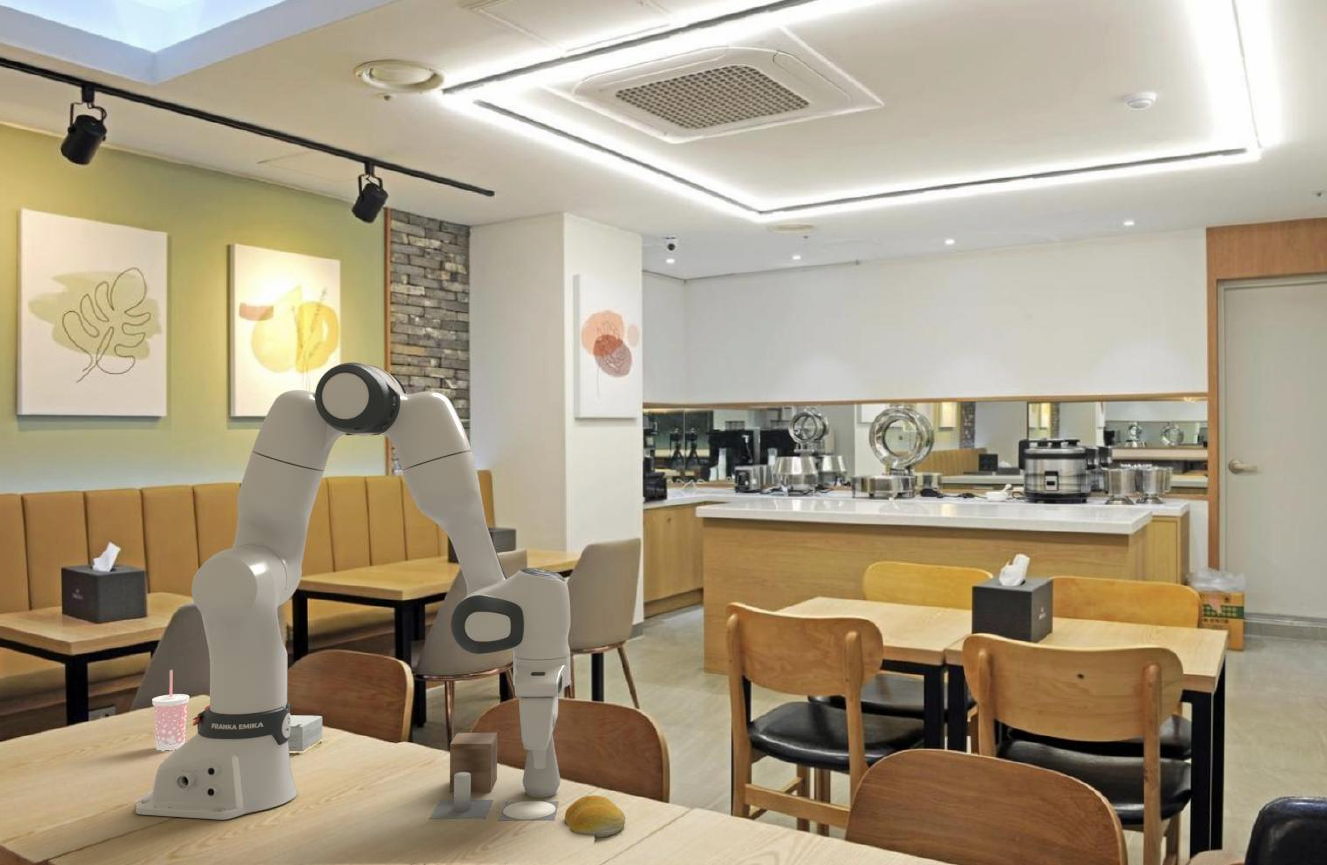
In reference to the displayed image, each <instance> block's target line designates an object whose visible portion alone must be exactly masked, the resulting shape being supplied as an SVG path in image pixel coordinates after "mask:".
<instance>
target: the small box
mask: <svg viewBox="0 0 1327 865" xmlns="http://www.w3.org/2000/svg"><path fill="white" fill-rule="evenodd" d="M290 715H291V714H290ZM320 739H322V740H323V716H321V715H300V714H299V715H295V714H294V715H293V714H292V715H291V728H290V736H289V739H288V747H289V751H304V750H305V749H306V748H308V747H309V746H312V745H313V744H315V743H316V742H318V741H319V740H320Z"/></svg>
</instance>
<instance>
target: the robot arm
mask: <svg viewBox="0 0 1327 865" xmlns="http://www.w3.org/2000/svg"><path fill="white" fill-rule="evenodd" d="M457 413H458V412H456V409H455V407H454V406H453V404H452V402H451V401H450V399H449V398H448V397H447V396H446V395H444V394H443V393H439V392H438V391H437V392H436V391H428V390H426V391H424V390H423V391H419V392H415V393H407V392H406V390H405V387H404V385H403V384H402V382H401V381H400V380H399V379H398V378H397V377H396V376H395V375H393V374H392V373H389V372H388V371H386V370H384V369H382V368H380V367H378V366H377V365H376V366H375V365H372V364H364V363H361V362H352V361H351V362H345V363H339V364H338V365H335V366H333V367H332V368H330V369H329V370H327V371H326V372H325V373H324V374H323V375H322V376H321V378H319V381H318V383H317V385H316V387H315V392H312V391H309V390H308V391H307V390H301V389H295V390H294V389H293V390H289V391H285V392H283V393H280V395H278V396H277V397H275V400H274V401H273V403H272V405H271V407H270V408H269V410H268V411H267V414H266V416H265V418H264V420H263V422H262V424H261V427H260V428H259V430H258V434H257V436H256V439H255V441H254V444H253V448H252V450H251V452H250V456H249V459H248V462H247V465H246V469H245V471H244V474H243V478H242V480H241V484H240V487H239V490H238V493H237V497H236V505H237V524H236V533H235V538H234V541H233V543H232V547H231V548H230V547H229V548H226V549H224V550H220V551H218V552H216V553H214V554H213V555H212V556H210V558H208V559H207V560H206V561H205V562H204V563H203V564H202V565H201V566H200V567H199V568H198V569H197V571H196V573H195V574H194V576H193V578H192V579H193V580H192V582H191V588H190V589H191V590H190V591H191V596H192V597H191V598H192V600H193V603H194V605H195V606H196V609H198V611H199V612H200V614H201V619H202V623H203V629H204V633H205V634H204V635H205V638H206V643H207V647H208V648H207V649H208V654H209V656H208V657H209V705H207V706H206V707H205V708H204V710H203V711H201V712H199V713H198V714H197V716H195V717H194V718H192V721H193V723H192V726H193V727H195V726H197V728H196V729H197V733H196V734H195V735H193V736H192V737H191V738H190V739H188V740H187V741H186V742H185V743H184V744H183V745H182V746H181V747H180V748H178V749H177V750H174V751H173V752H172V753H171V754H169V755H168V756H167V757H166V758H165V759H163V761H162V762H161V763H160V764H159V766H158V768H157V771H156V774H155V777H154V781H153V788H152V789H151V790H149V791H148V792H146V793H145V794H144V795H143V796H141V797H140V798H139V800H138V801H137V802H136V806H135V813H136V814H137V815H144V816H162V817H174V818H175V817H177V818H189V819H204V820H205V819H206V820H207V819H208V820H220V821H222V820H230V819H234V818H236V817H240V816H242V815H245V814H250V813H254V812H259V811H263V810H268V809H271V808H274V807H278V806H280V805H283V804H286V803H288V802H289V801H292V800H293V799H294V798H295V797H296V796H297V794H298V790H297V786H296V783H295V779H294V774H293V771H292V770H293V769H292V765H291V764H292V763H291V758H290V757H291V756H290V754H289V747H288V739H289V736H290V728H291V707H290V706H291V703H290V701H288V651H287V649H286V646H285V645H284V643H283V638H282V634H281V628H280V624H279V618H278V608H279V607H280V606H282V605H283V604H285V603H286V602H287V601H289V600H290V599H291V597H292V596H293V595H294V593H295V592H296V590H297V588H298V587H299V585H300V583H301V579H302V576H303V574H302V573H303V571H302V570H303V569H302V564H303V560H304V554H305V548H306V543H307V533H308V528H309V523H310V519H311V518H310V517H311V514H312V511H313V508H314V504H315V501H316V498H317V495H318V492H319V488H320V485H321V482H322V479H323V476H324V474H325V473H324V472H325V470H326V467H327V463H328V460H329V457H330V453H331V451H332V449H333V446H334V444H335V443H336V441H337V440H338V439H340V437H342V436H360V437H366V436H380V435H383V436H384V437H386V438H387V439H389V441H390V442H391V443H392V445H393V447H394V449H395V452H396V455H397V457H398V460H399V464H400V468H401V471H402V473H403V477H404V481H405V484H406V487H407V489H408V491H409V494H410V495H411V498H412V500H413V501H414V504H415V505H416V507H417V510H419V512H421V514H423V515H424V516H425V517H427V518H429V519H430V520H431V521H433V522H434V523H435V524H436V525H438V526H439V527H440V528H441V529H442V530H443V531H444V532H445V533H446V535H447V536H448V538H449V540H450V542H451V544H452V546H453V549H454V552H455V555H456V558H457V561H458V564H459V568H460V569H461V572H462V576H463V578H464V581H465V585H466V596H465V597H464V598H463V599H462V600H461V601H460V602H459V603H458V604H457V605H456V607H455V608H454V610H453V612H452V615H451V619H450V630H451V633H452V636H453V638H454V640H455V642H456V643H457V644H458V646H460V648H462V649H463V650H465V651H466V652H468V653H471V654H475V655H488V654H493V653H498V652H502V651H503V652H504V651H507V650H512V656H513V657H512V660H513V662H512V666H513V667H512V670H513V671H512V678H513V680H512V685H513V686H514V696H515V697H516V698H517V697H519V700H518V702H519V703H518V706H519V720H520V721H519V722H520V734H521V742H522V746H523V749H524V750H526V751H528V750H533V756H534V768H535V769H544V768H545V766H546V749H547V748H548V745H549V742H550V738H551V735H553V732H554V729H555V727H553V714H555V718H556V721H557V720H558V716H559V698H560V697H561V696H563V690H564V689H565V688H566V687H568V686H570V685H571V649H570V645H569V634H570V629H571V600H570V591H569V586H568V583H567V581H566V579H565V578H564V576H562V575H561V574H560V573H558V572H556V571H553V570H550V569H545V568H539V567H524V568H520V569H519V570H518V571H517V572H516V573H515V574H512V575H511V576H510V577H507V575H506V574H505V571H504V569H503V567H502V564H501V561H500V559H499V556H498V552H497V550H496V546H495V543H494V541H493V538H492V535H491V532H490V529H489V525H488V523H487V519H486V515H485V514H486V513H485V509H484V504H483V498H482V492H481V486H480V480H479V479H480V478H479V474H478V469H477V466H476V462H475V458H474V454H473V452H472V448H471V445H470V442H469V438H468V436H467V433H466V431H465V428H464V426H463V424H462V421H461V419H460V417H459V414H457Z"/></svg>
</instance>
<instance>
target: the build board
mask: <svg viewBox="0 0 1327 865" xmlns="http://www.w3.org/2000/svg"><path fill="white" fill-rule="evenodd" d="M559 803H560V802H559V801H558V800H557V801H556V800H555V801H553V800H552V801H551V800H550V801H549V800H547V801H545V800H544V801H542V800H526V801H505V803H504V806H503V807H502V809H501V813H500V815H499V818H498V822H500V821H502V822H505V821H506V822H507V821H509V822H510V821H511V822H512V821H513V822H515V821H516V822H517V821H520V822H521V821H525V822H526V821H555V820H556V815H557V811H558V808H559V807H558V806H559Z"/></svg>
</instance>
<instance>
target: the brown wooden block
mask: <svg viewBox="0 0 1327 865" xmlns="http://www.w3.org/2000/svg"><path fill="white" fill-rule="evenodd" d="M460 772H468V773H470V774H471V793H492V791H493V789H494V787H495V784H496V782H497V780H498V732H457V733H456V734H455V736H454V737H453V739H452V741H451V742H450V744H449V793H454V774H456V773H460Z"/></svg>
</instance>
